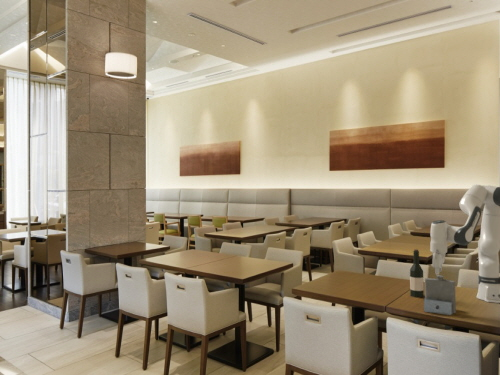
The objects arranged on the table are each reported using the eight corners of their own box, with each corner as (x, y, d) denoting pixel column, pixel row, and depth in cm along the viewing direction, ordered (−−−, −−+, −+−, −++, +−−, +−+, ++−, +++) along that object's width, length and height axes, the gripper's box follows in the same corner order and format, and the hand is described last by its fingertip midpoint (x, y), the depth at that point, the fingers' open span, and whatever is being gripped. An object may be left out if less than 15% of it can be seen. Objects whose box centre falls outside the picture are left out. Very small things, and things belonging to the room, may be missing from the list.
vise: (454, 309, 232) (454, 297, 232) (451, 316, 220) (450, 303, 220) (428, 305, 239) (428, 293, 239) (423, 311, 227) (423, 299, 227)
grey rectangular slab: (424, 309, 233) (424, 274, 233) (426, 307, 236) (425, 273, 236) (455, 313, 224) (454, 277, 224) (456, 311, 227) (455, 276, 227)
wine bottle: (412, 293, 267) (411, 248, 267) (425, 295, 262) (424, 249, 262) (408, 296, 260) (407, 249, 260) (421, 298, 255) (420, 251, 255)
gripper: (442, 251, 219) (441, 277, 219) (447, 247, 236) (447, 270, 237) (429, 250, 223) (429, 275, 223) (435, 246, 240) (435, 269, 240)
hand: (438, 272), depth 230 cm, fingers open, 8 cm apart
